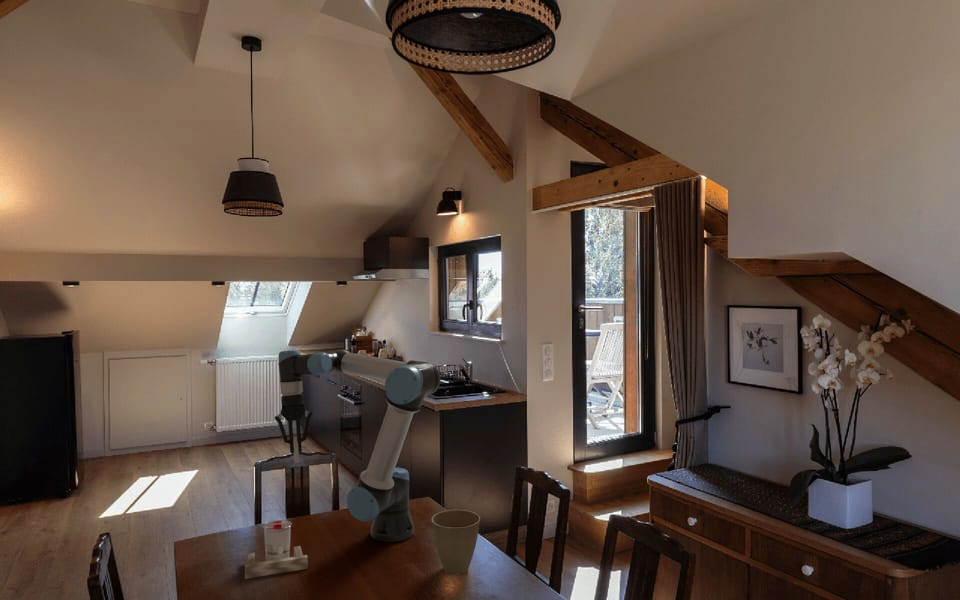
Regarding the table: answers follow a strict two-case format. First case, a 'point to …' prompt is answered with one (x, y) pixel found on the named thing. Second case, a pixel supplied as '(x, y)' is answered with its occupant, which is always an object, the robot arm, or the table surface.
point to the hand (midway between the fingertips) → (296, 462)
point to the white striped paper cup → (277, 539)
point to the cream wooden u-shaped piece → (276, 564)
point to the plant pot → (455, 538)
